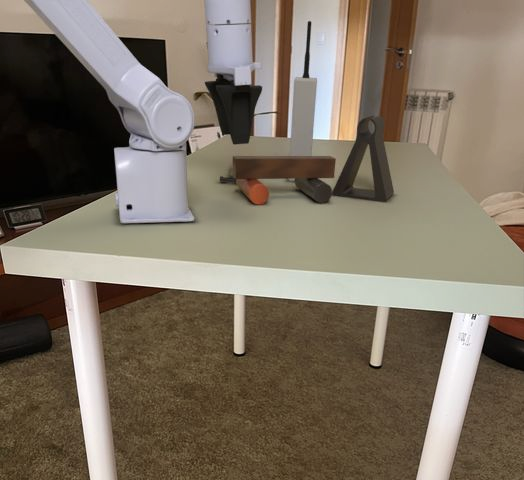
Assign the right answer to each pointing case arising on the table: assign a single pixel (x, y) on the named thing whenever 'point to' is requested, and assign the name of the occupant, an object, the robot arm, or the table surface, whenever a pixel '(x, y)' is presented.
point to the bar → (283, 167)
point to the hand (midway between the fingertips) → (234, 138)
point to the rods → (308, 185)
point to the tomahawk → (228, 178)
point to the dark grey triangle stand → (378, 162)
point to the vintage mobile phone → (303, 109)
